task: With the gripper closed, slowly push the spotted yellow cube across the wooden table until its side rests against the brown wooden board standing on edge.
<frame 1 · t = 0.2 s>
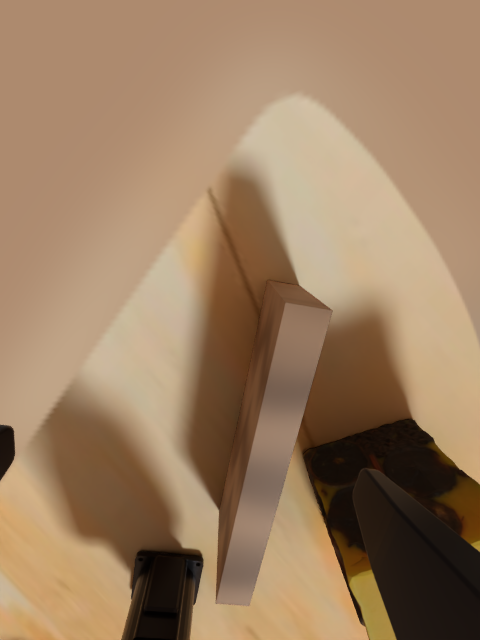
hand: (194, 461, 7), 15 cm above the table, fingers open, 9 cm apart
brown wooden board: (254, 412, 24), on the table
spotted yellow cube: (365, 473, 27), on the table
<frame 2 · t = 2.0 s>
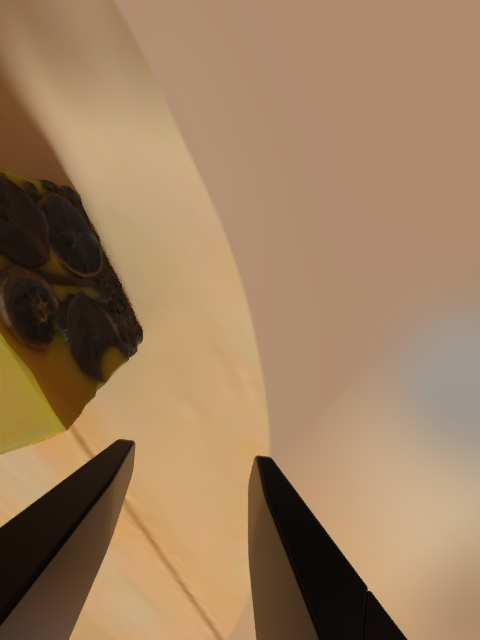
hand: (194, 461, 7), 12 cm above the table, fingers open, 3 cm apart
spotted yellow cube: (44, 295, 18), on the table
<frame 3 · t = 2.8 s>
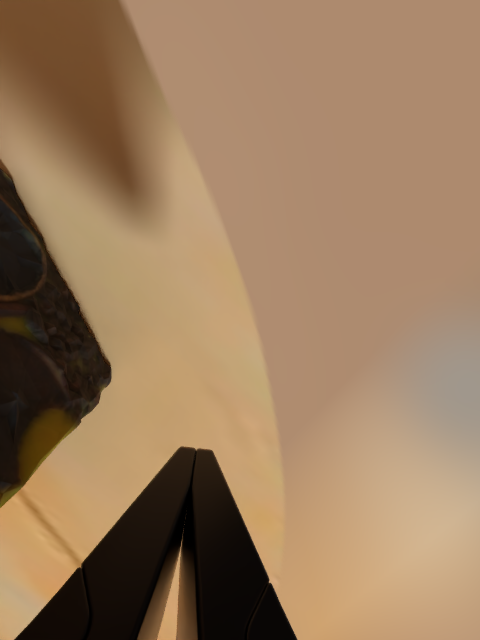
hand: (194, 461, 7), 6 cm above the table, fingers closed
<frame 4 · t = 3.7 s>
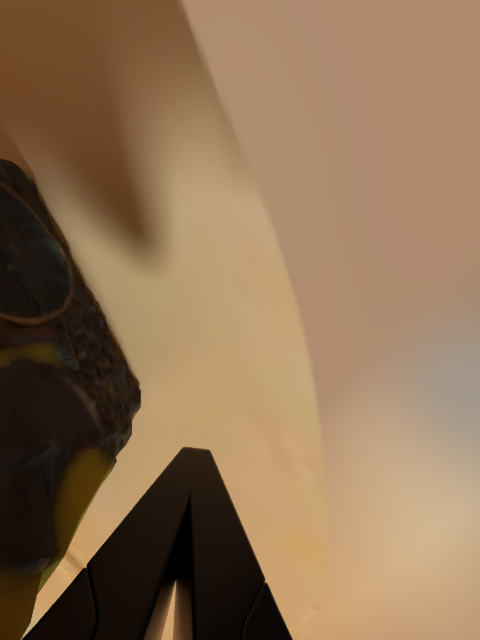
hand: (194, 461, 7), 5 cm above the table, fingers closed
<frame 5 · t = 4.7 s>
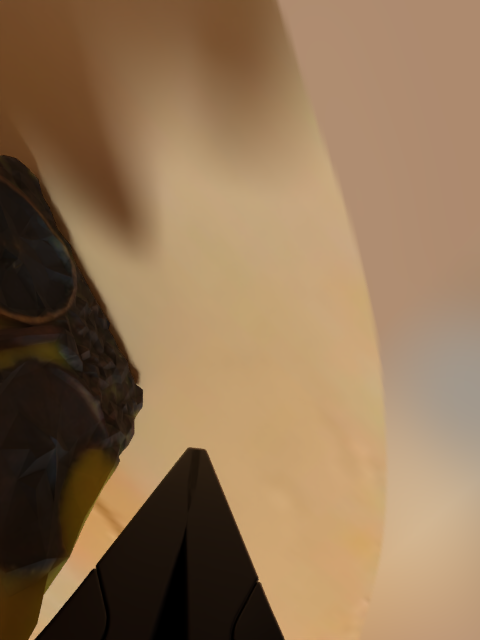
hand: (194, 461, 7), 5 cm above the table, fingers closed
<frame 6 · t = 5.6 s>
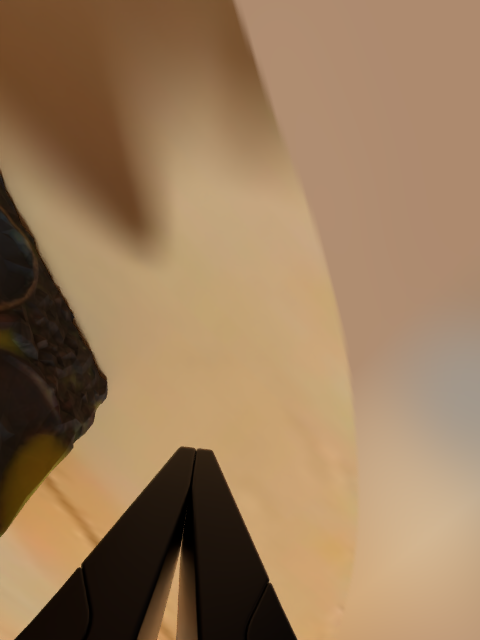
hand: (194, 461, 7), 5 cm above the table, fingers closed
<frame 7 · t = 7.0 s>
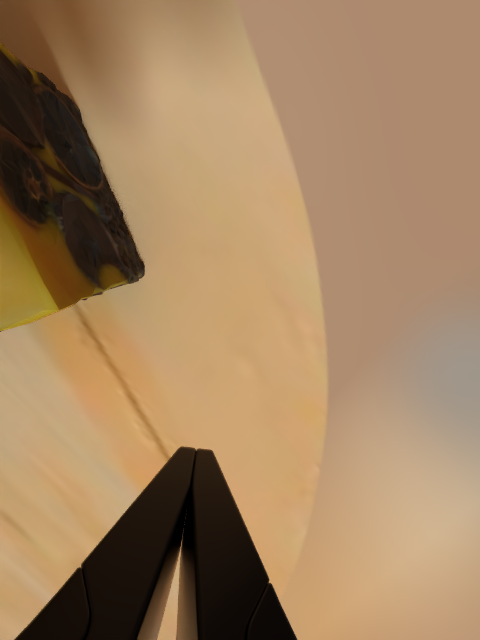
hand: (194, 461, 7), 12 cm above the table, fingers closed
spotted yellow cube: (39, 223, 17), on the table
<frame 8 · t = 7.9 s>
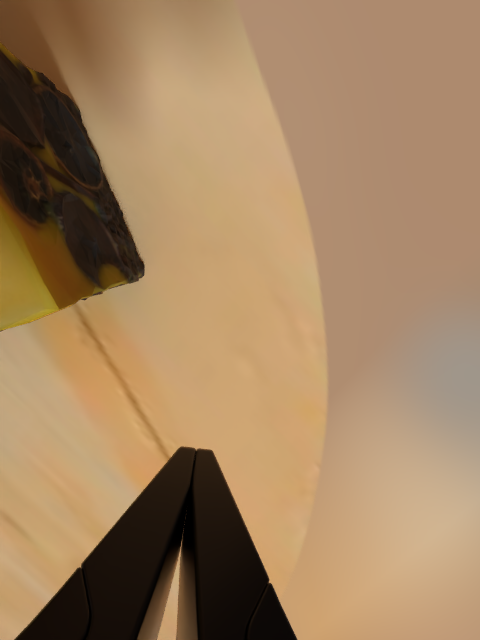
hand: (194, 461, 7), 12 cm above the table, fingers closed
spotted yellow cube: (39, 223, 17), on the table
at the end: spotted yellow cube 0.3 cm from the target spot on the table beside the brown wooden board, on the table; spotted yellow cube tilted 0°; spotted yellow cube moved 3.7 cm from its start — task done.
